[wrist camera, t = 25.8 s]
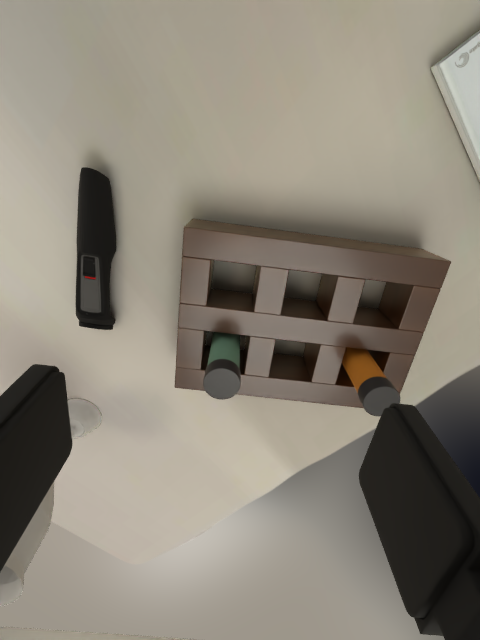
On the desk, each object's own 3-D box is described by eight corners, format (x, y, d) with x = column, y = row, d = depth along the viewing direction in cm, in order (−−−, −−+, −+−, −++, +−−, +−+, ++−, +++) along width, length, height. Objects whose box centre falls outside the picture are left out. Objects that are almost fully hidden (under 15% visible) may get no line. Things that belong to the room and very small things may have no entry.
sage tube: (214, 315, 35) (204, 366, 26) (242, 319, 36) (242, 370, 26) (211, 341, 37) (201, 397, 27) (239, 344, 37) (238, 401, 28)
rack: (192, 218, 31) (183, 226, 27) (422, 248, 32) (451, 261, 28) (182, 361, 38) (174, 387, 33) (375, 383, 39) (393, 411, 34)
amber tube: (336, 330, 36) (369, 384, 27) (364, 333, 36) (405, 388, 27) (330, 354, 37) (359, 414, 28) (356, 357, 37) (394, 418, 28)
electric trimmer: (124, 172, 30) (111, 172, 27) (117, 328, 36) (106, 341, 33) (81, 164, 30) (63, 163, 27) (82, 322, 36) (67, 335, 33)
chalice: (114, 400, 40) (23, 560, 23) (107, 442, 43) (22, 613, 26) (51, 386, 39) (-88, 542, 23) (48, 430, 42) (-78, 598, 25)
